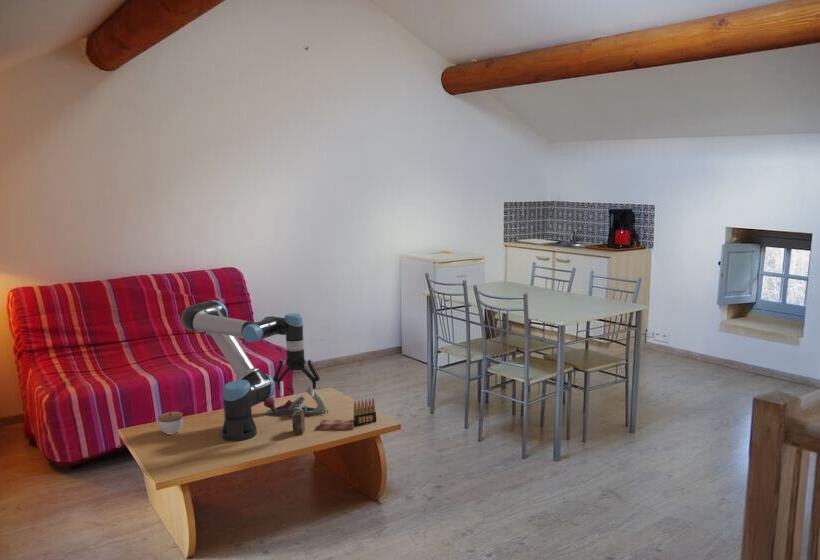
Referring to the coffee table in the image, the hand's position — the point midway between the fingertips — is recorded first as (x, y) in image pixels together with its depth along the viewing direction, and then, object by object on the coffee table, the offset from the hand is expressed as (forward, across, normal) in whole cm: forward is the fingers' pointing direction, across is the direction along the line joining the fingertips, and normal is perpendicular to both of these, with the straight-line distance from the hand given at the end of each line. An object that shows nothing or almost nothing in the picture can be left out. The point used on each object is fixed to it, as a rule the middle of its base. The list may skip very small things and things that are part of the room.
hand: (297, 396), depth 313 cm
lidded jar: (+17, -58, 0) cm, 60 cm away
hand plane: (+17, -7, +25) cm, 31 cm away
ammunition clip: (+17, +28, +11) cm, 35 cm away
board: (+16, +16, +6) cm, 24 cm away
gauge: (+16, 0, +2) cm, 17 cm away
